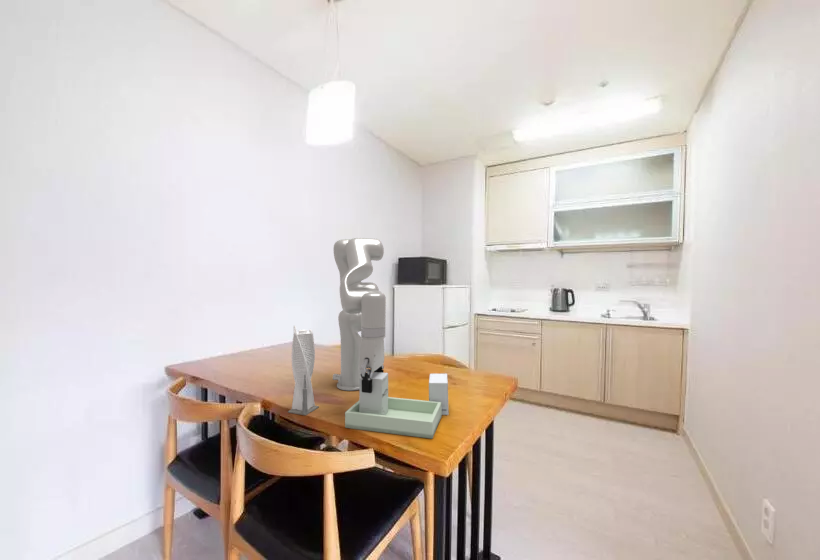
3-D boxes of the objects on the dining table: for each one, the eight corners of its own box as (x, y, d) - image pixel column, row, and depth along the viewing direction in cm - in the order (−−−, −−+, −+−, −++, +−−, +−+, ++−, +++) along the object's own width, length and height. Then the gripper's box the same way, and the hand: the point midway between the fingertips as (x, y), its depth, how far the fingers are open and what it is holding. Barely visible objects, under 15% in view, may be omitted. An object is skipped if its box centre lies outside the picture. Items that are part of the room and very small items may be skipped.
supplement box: (382, 421, 97) (381, 379, 97) (358, 419, 99) (358, 377, 99) (388, 411, 105) (388, 372, 105) (367, 409, 106) (366, 371, 106)
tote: (345, 427, 96) (345, 412, 96) (365, 408, 110) (365, 394, 110) (432, 438, 89) (432, 422, 89) (441, 416, 103) (441, 402, 103)
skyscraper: (284, 411, 107) (284, 326, 107) (300, 403, 115) (300, 323, 115) (305, 415, 104) (305, 327, 104) (320, 406, 112) (320, 324, 112)
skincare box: (429, 402, 115) (429, 372, 115) (448, 403, 115) (448, 373, 115) (428, 414, 105) (428, 382, 105) (448, 415, 104) (448, 382, 104)
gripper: (372, 326, 111) (372, 376, 111) (350, 337, 94) (349, 395, 95) (393, 328, 109) (393, 378, 109) (374, 338, 92) (374, 398, 93)
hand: (373, 386), depth 102 cm, fingers open, 9 cm apart
